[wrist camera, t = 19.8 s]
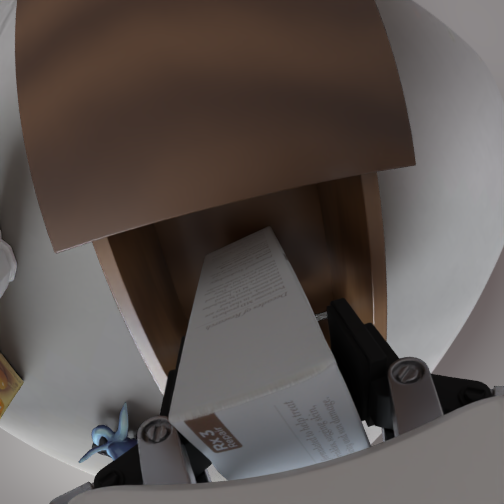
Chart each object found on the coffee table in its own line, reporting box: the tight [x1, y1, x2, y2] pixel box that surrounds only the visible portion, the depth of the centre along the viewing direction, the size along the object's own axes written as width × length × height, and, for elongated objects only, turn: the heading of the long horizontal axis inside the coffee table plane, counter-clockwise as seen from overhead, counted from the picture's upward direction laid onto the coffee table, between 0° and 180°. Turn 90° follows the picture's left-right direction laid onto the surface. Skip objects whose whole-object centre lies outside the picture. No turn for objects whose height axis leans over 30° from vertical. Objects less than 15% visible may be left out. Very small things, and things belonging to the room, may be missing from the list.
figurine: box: [79, 402, 138, 463], centre depth 24 cm, size 10×12×8 cm
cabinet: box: [15, 0, 416, 253], centre depth 12 cm, size 16×15×10 cm
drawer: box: [92, 172, 387, 396], centre depth 18 cm, size 19×13×8 cm
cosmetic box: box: [169, 226, 371, 480], centre depth 12 cm, size 6×4×12 cm
